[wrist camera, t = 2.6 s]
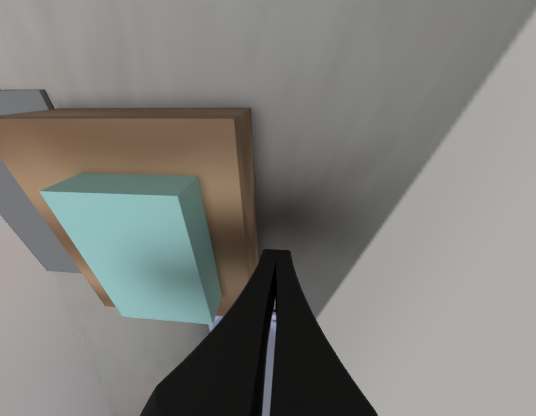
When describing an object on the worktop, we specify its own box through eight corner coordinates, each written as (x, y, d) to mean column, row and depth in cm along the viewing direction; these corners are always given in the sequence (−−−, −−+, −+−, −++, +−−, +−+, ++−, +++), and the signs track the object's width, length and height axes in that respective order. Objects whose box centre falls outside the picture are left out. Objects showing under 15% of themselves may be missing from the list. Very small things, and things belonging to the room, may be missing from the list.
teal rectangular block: (222, 296, 14) (212, 324, 13) (141, 289, 15) (122, 316, 13) (197, 175, 10) (177, 196, 8) (80, 172, 10) (38, 191, 9)
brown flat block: (259, 276, 19) (252, 318, 16) (136, 267, 20) (105, 306, 17) (250, 107, 12) (233, 118, 8) (57, 108, 13) (-28, 118, 9)
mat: (137, 274, 21) (135, 277, 20) (49, 268, 21) (46, 270, 21) (44, 90, 12) (38, 90, 12) (-95, 91, 13) (-102, 91, 13)
